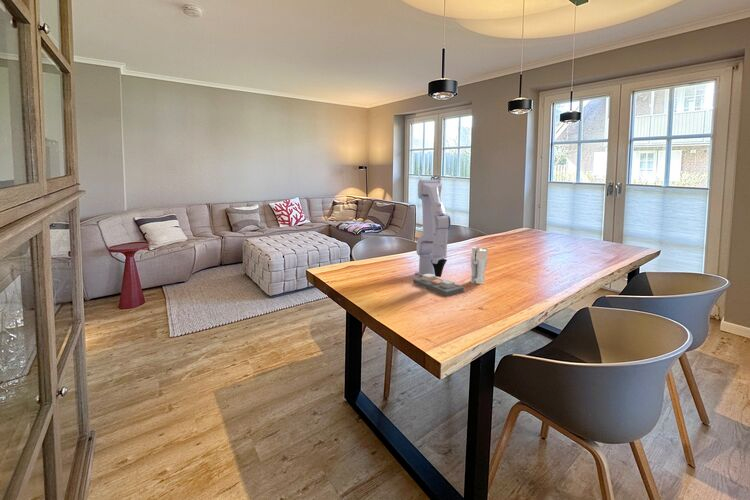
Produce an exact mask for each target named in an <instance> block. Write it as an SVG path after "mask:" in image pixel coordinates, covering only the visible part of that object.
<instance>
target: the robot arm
mask: <svg viewBox="0 0 750 500" xmlns="http://www.w3.org/2000/svg"><path fill="white" fill-rule="evenodd" d="M442 186H443V183H442V181H441V180H440V179H422V178H420V179H419V180H418V182H417V196H418V199H420V200H421V204H422V235H421V236H419V237H418V238H417V240H416V250H415V251H416V254H417V255H418V257H419V261H418V262H419V263H418V264H419V265H418V271H415V272H414V274H415V275H419V276H420V277H422V275H424V274H432V275H435V276H436V278H441V277H442V274H443V270H444V266H445V264H446V263H447V261H448V260H447V258H448V255H447V250H448V236H449V235H448V234H449V230H450V228H451V217H450V215H449V214H448V213H446V212H447V211H446V208H445V206H444V203H443V202H441V198H440V193H441V192H442Z"/></svg>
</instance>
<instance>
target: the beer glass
mask: <svg viewBox="0 0 750 500" xmlns="http://www.w3.org/2000/svg"><path fill="white" fill-rule="evenodd" d="M488 250H489V249H488V248H485V247H472V248H471V252H470V253H471V254H470V267H471V276H470V279H469V282H470V283H471V284H475V285H482V284H484V283H485V272H486V268H487V263H488Z"/></svg>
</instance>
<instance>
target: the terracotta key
mask: <svg viewBox="0 0 750 500" xmlns="http://www.w3.org/2000/svg"><path fill="white" fill-rule="evenodd" d="M439 279H440V278H439ZM439 279H437V280H432V281H431V283H433V284H436V285H441V281H442V280H443V279H442V280H439Z"/></svg>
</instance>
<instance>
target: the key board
mask: <svg viewBox="0 0 750 500" xmlns="http://www.w3.org/2000/svg"><path fill="white" fill-rule="evenodd" d="M437 279H439V280H442V281H444V279H442V278H440V277H436V279H435V280H437ZM412 283H413V284H414V285H416V286H418V287H421V288H424V289H426V290H429V291H432V292H434V293H436V294H439V295H442V296H444V297H450V296H454V295H458V294H461V293H464V292H465V287H464V286H461V285H459V284H457V283H455V287H454V288H449V289H446V288H444V287H441V286H440V285H436V284H433V283H431V281H430V282H427V281H425V280H422V276H420V277H416V278H413V279H412Z"/></svg>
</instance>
